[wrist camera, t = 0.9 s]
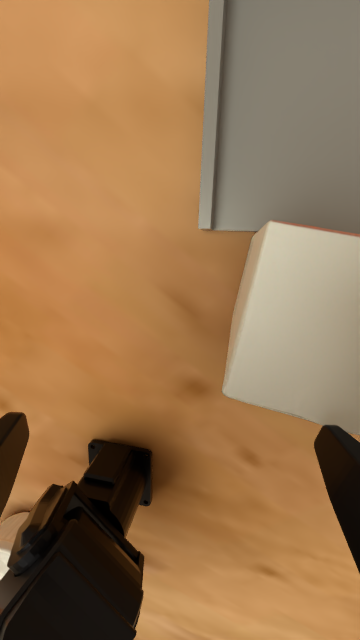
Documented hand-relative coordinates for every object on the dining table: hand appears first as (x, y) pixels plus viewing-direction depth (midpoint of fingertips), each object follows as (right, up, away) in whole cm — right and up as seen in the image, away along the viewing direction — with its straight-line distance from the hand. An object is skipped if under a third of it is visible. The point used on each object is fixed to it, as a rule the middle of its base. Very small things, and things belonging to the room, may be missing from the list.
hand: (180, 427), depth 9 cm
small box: (+8, +6, +13) cm, 16 cm away
